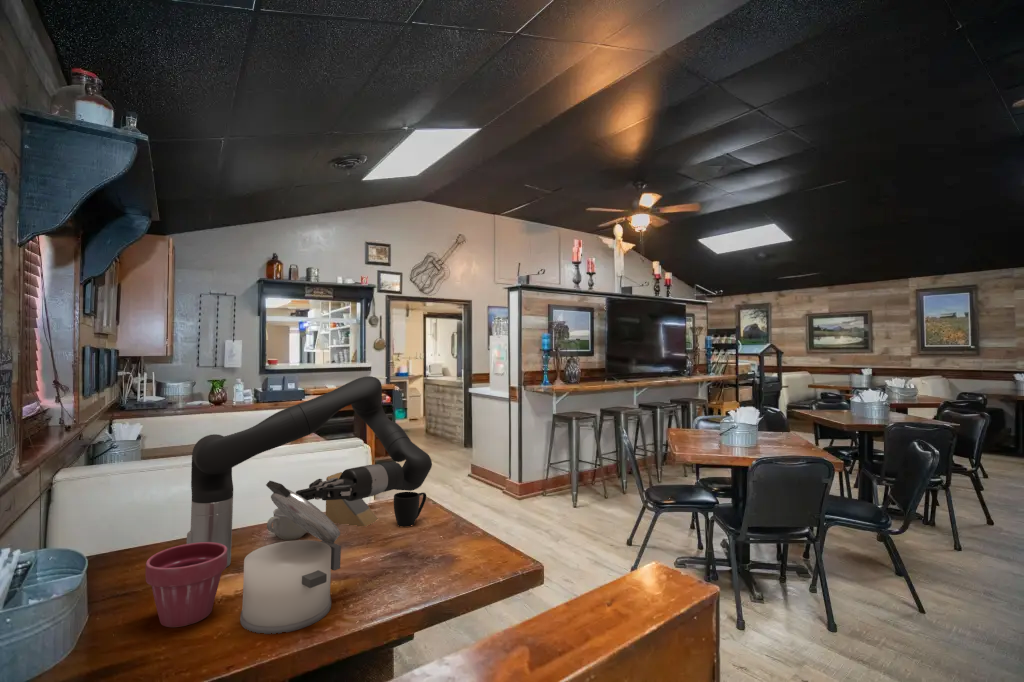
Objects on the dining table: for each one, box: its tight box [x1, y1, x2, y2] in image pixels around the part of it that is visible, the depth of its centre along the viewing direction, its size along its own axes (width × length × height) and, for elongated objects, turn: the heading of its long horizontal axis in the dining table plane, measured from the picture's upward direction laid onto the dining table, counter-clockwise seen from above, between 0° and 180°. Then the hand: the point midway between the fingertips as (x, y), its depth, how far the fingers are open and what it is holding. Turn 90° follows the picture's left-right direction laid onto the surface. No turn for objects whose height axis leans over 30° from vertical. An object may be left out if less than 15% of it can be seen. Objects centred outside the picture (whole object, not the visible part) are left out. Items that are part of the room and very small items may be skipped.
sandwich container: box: [325, 471, 379, 527], centre depth 167 cm, size 9×15×15 cm, turn 76°
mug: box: [393, 491, 427, 527], centre depth 166 cm, size 8×12×10 cm
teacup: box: [266, 507, 308, 541], centre depth 151 cm, size 14×11×8 cm
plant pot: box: [145, 542, 228, 628], centre depth 105 cm, size 14×14×13 cm
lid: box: [265, 480, 341, 544], centre depth 110 cm, size 20×17×2 cm
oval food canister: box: [239, 539, 342, 635], centre depth 109 cm, size 19×23×12 cm
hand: (297, 496), depth 110 cm, fingers closed
